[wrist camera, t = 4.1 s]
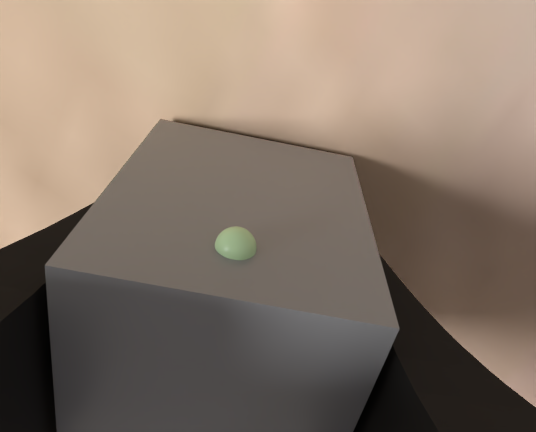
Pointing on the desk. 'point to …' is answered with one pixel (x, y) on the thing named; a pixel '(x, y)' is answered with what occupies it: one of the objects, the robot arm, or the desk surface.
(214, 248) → the block
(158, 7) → the desk surface
